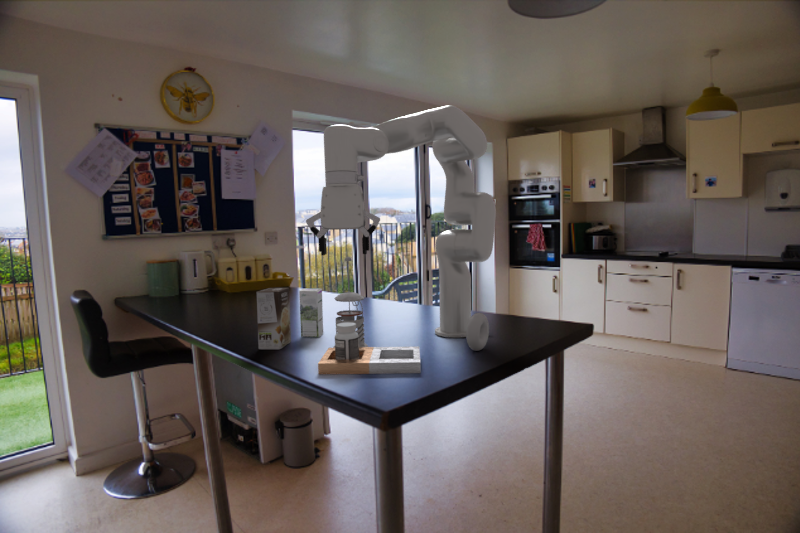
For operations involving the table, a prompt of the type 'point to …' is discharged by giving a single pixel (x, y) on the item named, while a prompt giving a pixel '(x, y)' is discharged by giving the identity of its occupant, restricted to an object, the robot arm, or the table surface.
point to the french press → (352, 311)
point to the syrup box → (311, 312)
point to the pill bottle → (346, 341)
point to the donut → (477, 331)
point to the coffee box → (273, 318)
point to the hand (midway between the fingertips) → (344, 254)
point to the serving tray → (373, 361)
